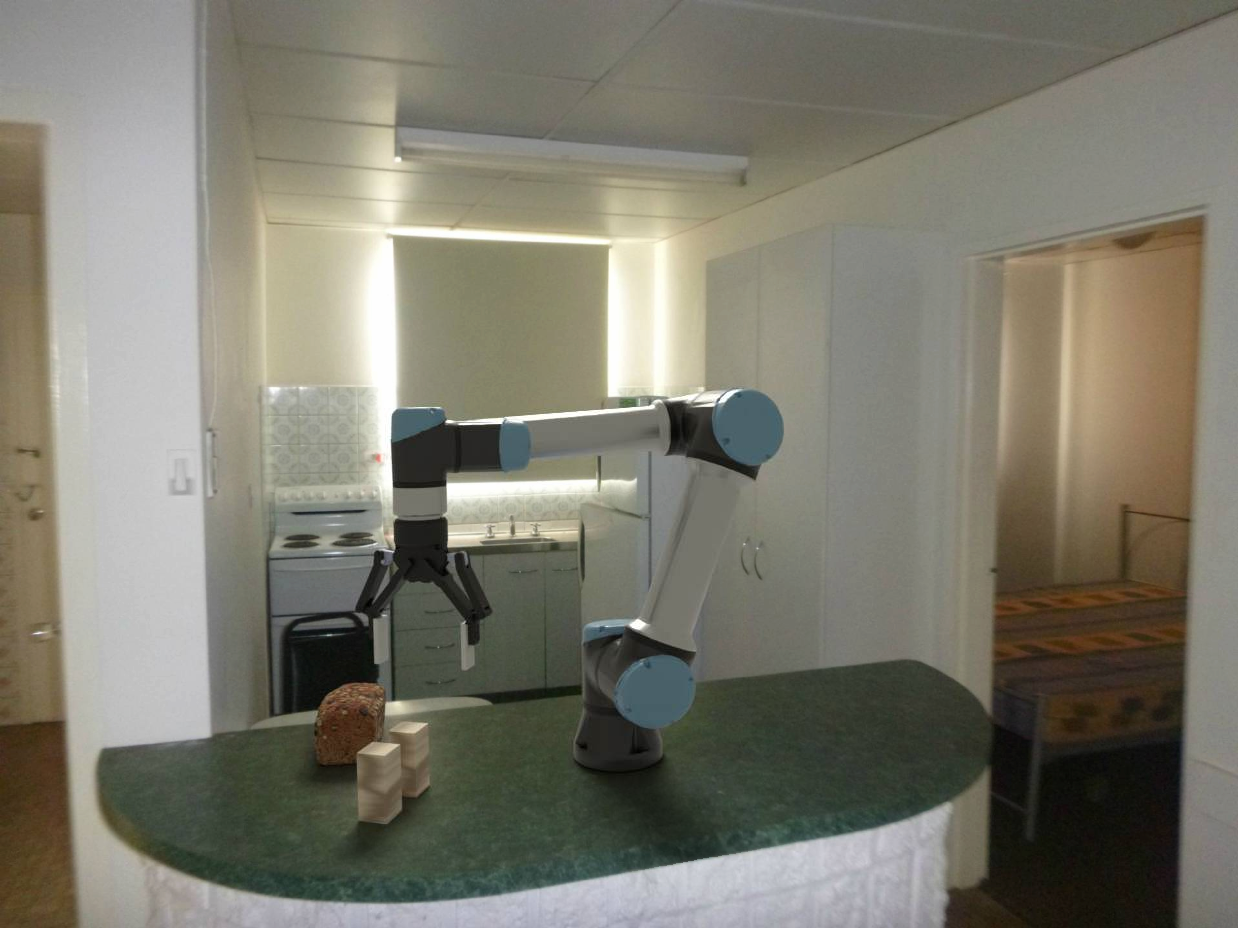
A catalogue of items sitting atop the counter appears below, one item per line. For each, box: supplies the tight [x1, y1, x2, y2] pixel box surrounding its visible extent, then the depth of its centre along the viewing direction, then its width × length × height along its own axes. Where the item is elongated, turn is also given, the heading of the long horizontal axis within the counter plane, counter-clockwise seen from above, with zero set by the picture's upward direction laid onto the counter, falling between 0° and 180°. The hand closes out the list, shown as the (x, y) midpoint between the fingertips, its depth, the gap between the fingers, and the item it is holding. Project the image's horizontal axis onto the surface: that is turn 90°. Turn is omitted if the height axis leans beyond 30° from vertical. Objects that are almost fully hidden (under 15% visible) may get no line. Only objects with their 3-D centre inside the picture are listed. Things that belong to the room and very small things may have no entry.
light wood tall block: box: [387, 721, 431, 799], centre depth 139 cm, size 4×4×10 cm
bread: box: [313, 682, 387, 766], centre depth 158 cm, size 19×11×10 cm, turn 9°
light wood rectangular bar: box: [356, 741, 403, 825], centre depth 131 cm, size 4×4×10 cm
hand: (424, 664), depth 128 cm, fingers open, 13 cm apart
